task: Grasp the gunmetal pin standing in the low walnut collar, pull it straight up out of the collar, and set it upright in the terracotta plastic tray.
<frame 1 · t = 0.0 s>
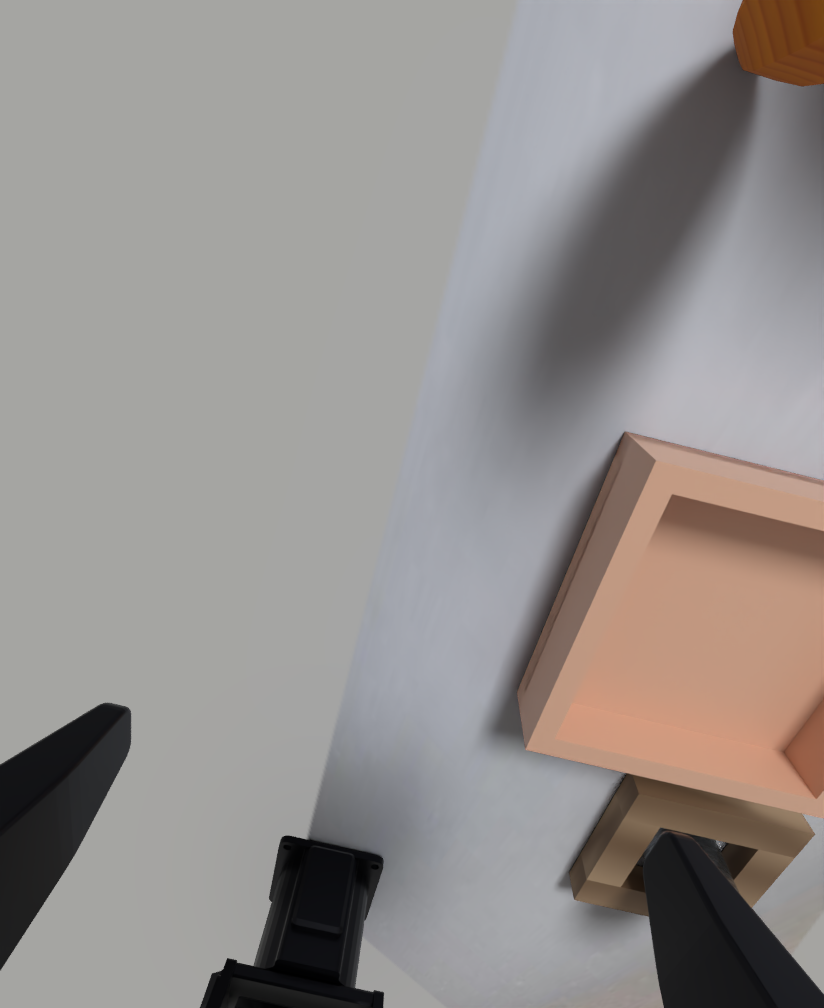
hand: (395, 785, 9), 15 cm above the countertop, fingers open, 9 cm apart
terracotta tray: (713, 613, 24), on the countertop
walnut collar: (676, 841, 30), on the countertop
gunmetal pin: (702, 909, 27), in the walnut collar
carrot: (745, 51, 16), on the countertop
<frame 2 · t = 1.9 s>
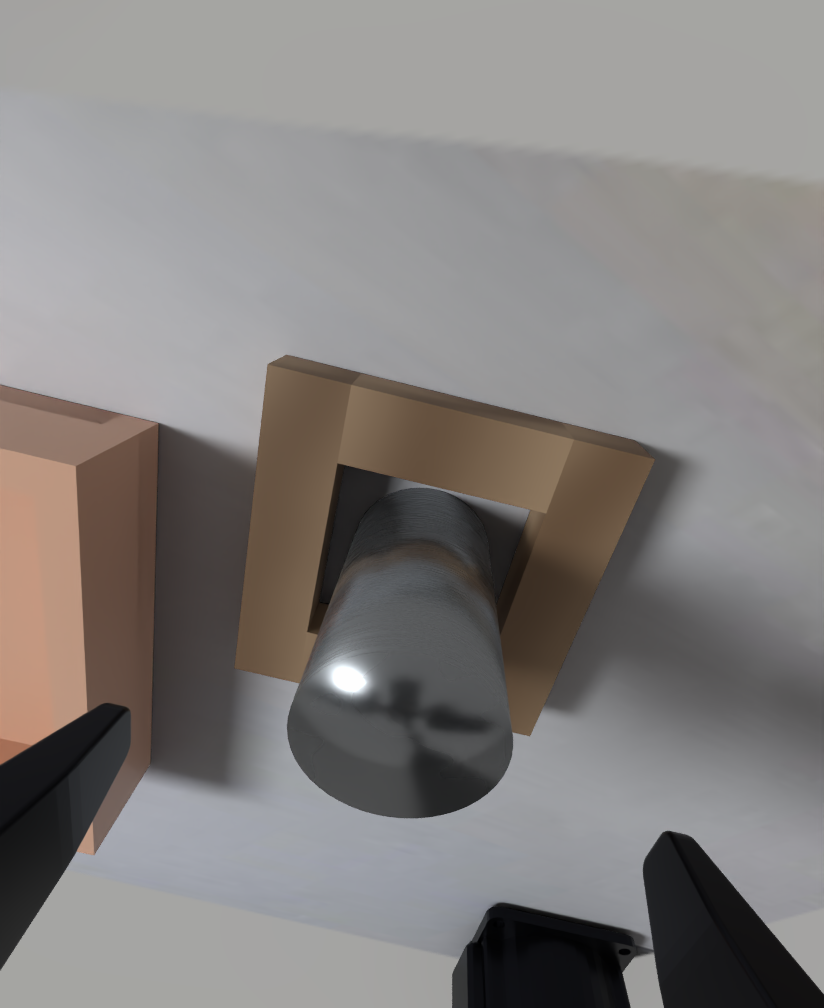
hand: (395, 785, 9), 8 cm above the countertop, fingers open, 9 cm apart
walnut collar: (421, 550, 16), on the countertop
gunmetal pin: (412, 621, 12), in the walnut collar
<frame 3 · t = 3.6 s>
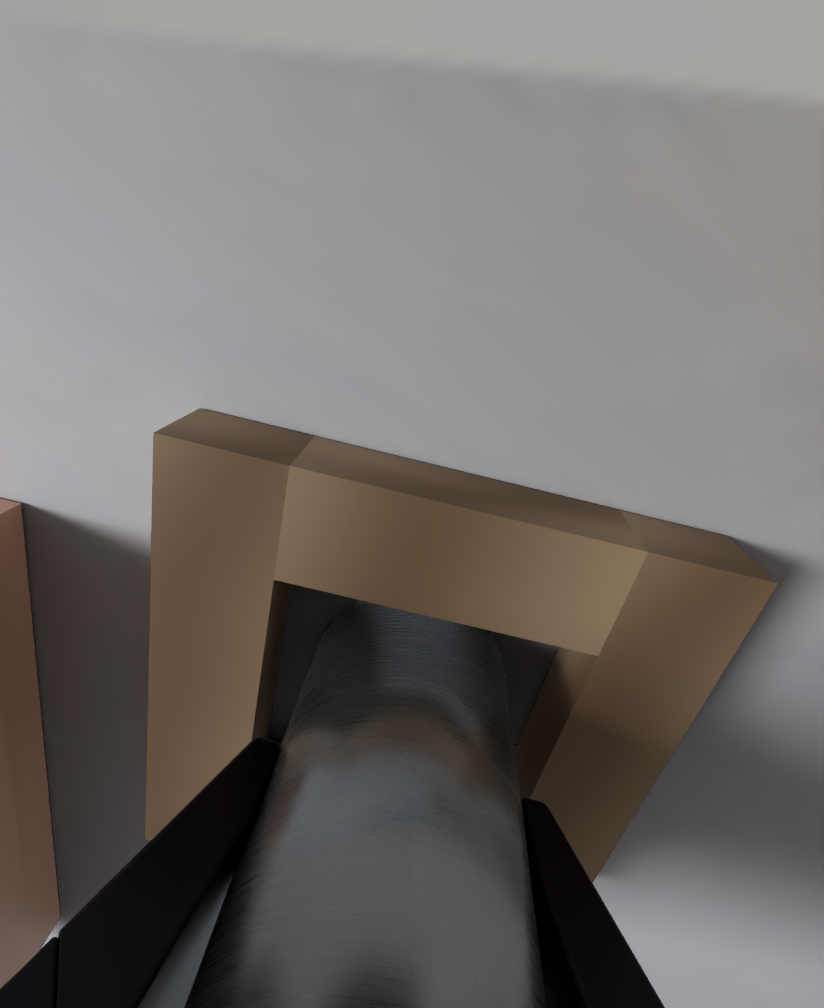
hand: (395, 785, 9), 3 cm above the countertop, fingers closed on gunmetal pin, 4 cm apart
walnut collar: (408, 677, 11), on the countertop
gunmetal pin: (389, 843, 8), in the walnut collar, touching gripper
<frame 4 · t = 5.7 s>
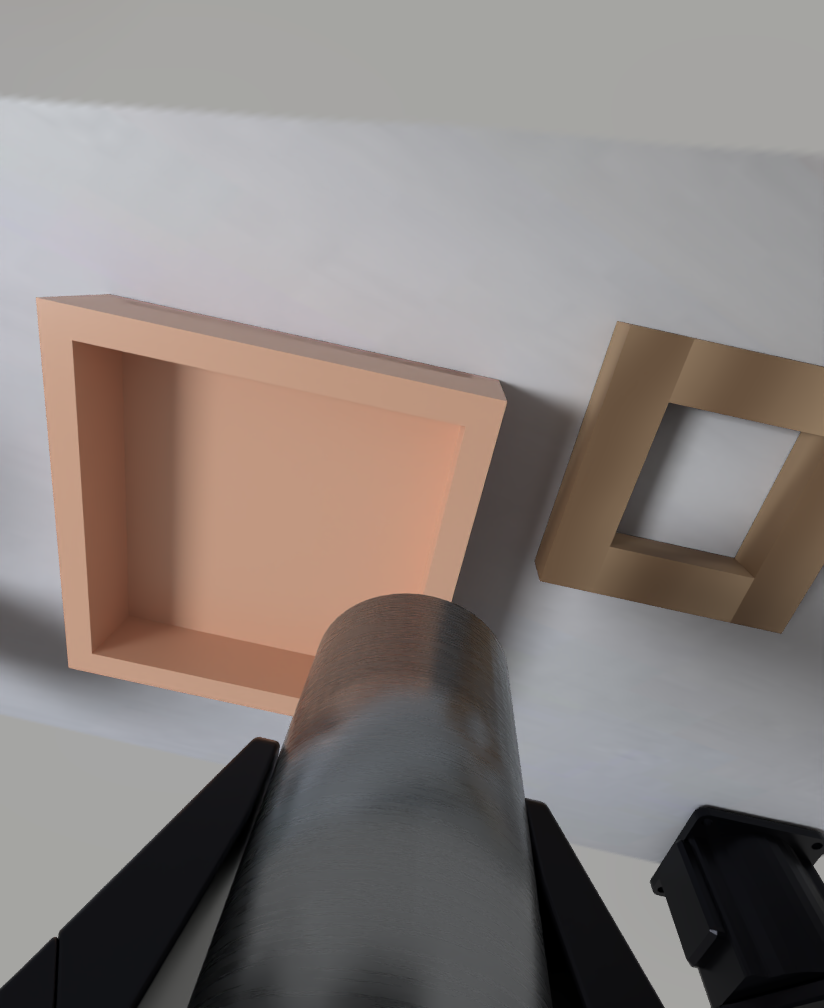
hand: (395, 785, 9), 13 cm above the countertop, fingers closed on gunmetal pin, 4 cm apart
terracotta tray: (284, 513, 21), on the countertop
walnut collar: (696, 480, 19), on the countertop
gunmetal pin: (392, 840, 8), point 14 cm above the countertop, touching gripper
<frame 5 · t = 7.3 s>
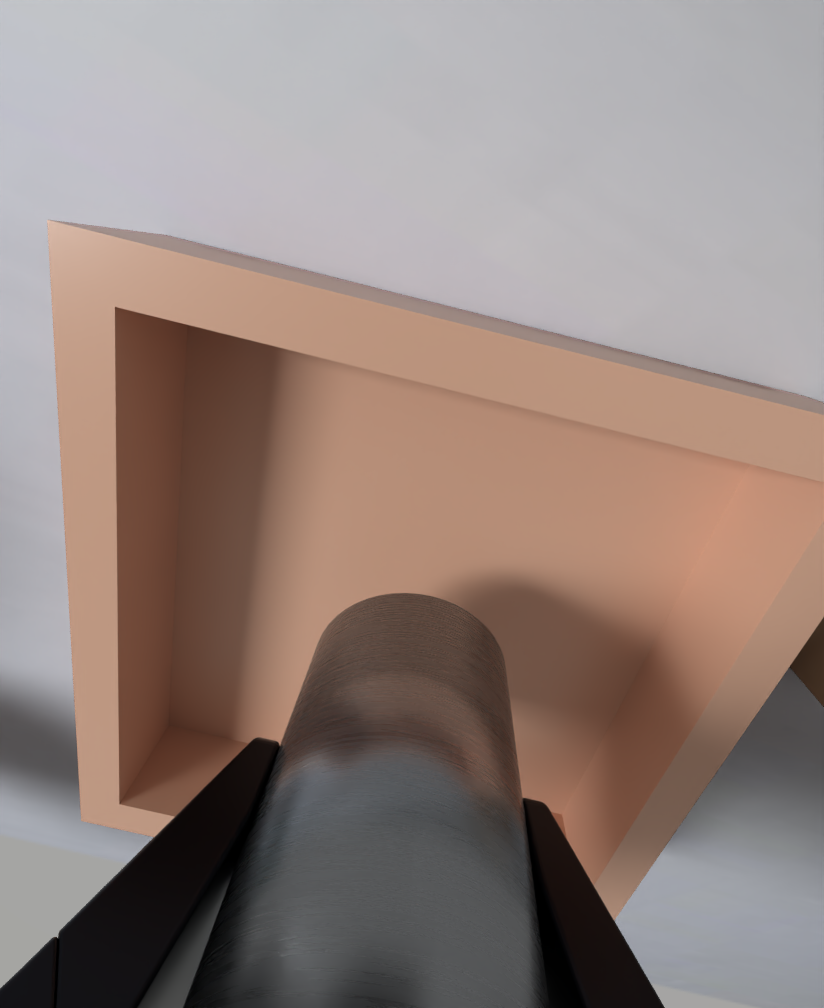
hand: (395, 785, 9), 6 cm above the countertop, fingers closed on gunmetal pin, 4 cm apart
terracotta tray: (415, 586, 14), on the countertop
gunmetal pin: (389, 841, 8), point 7 cm above the countertop, touching gripper
when the fingers open (5 cm above the countertop, at t = 8.2 s): gunmetal pin drops 1 cm, resting on terracotta tray.
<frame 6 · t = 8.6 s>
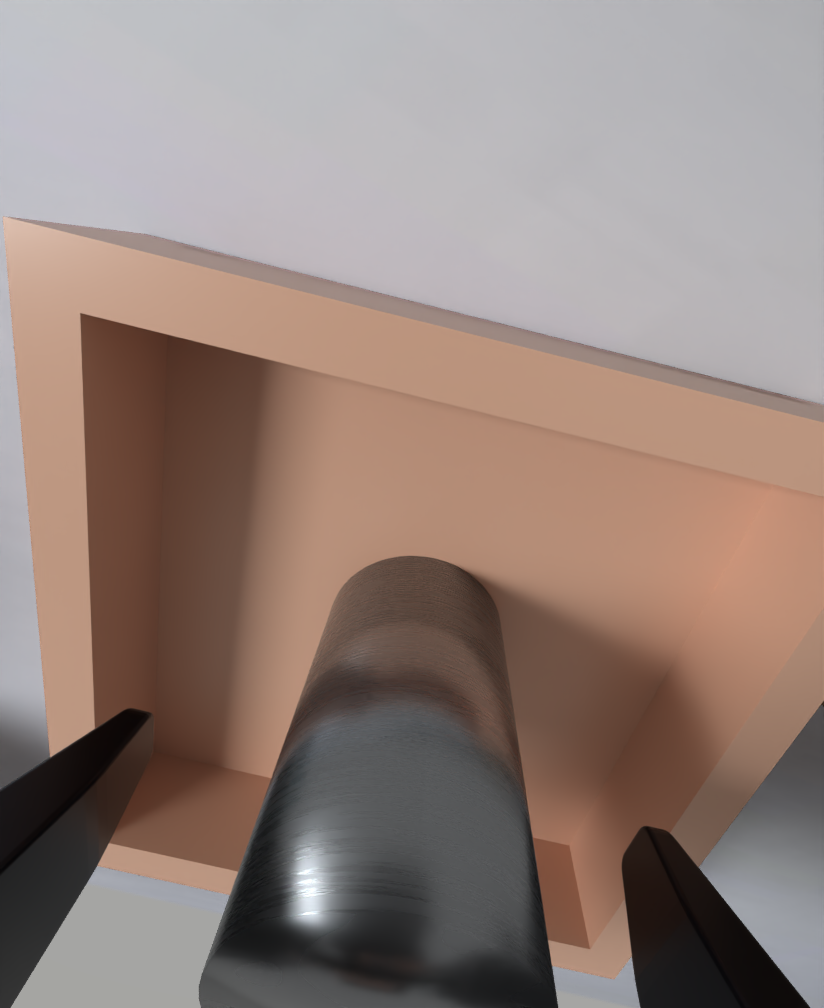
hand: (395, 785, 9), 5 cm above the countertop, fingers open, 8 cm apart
terracotta tray: (414, 607, 13), on the countertop
gunmetal pin: (402, 757, 9), in the terracotta tray, point 4 cm above the countertop
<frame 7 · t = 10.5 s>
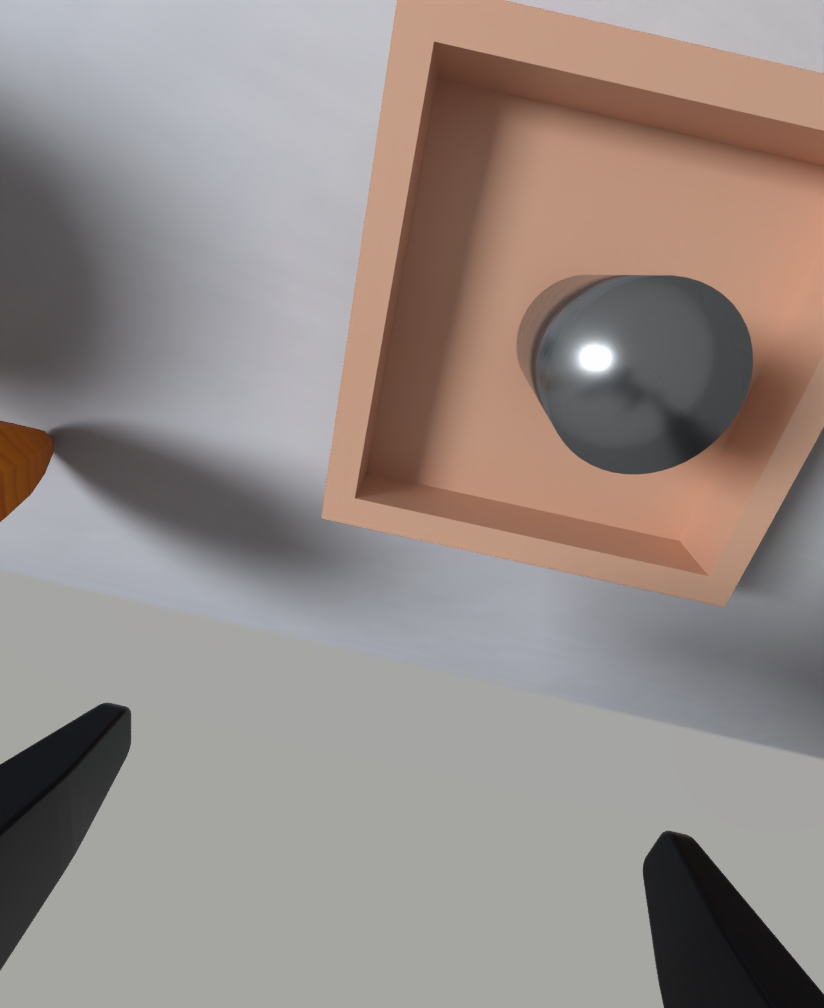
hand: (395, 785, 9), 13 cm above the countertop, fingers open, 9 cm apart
terracotta tray: (570, 340, 18), on the countertop
gunmetal pin: (604, 357, 14), in the terracotta tray, point 4 cm above the countertop
carrot: (51, 437, 21), on the countertop
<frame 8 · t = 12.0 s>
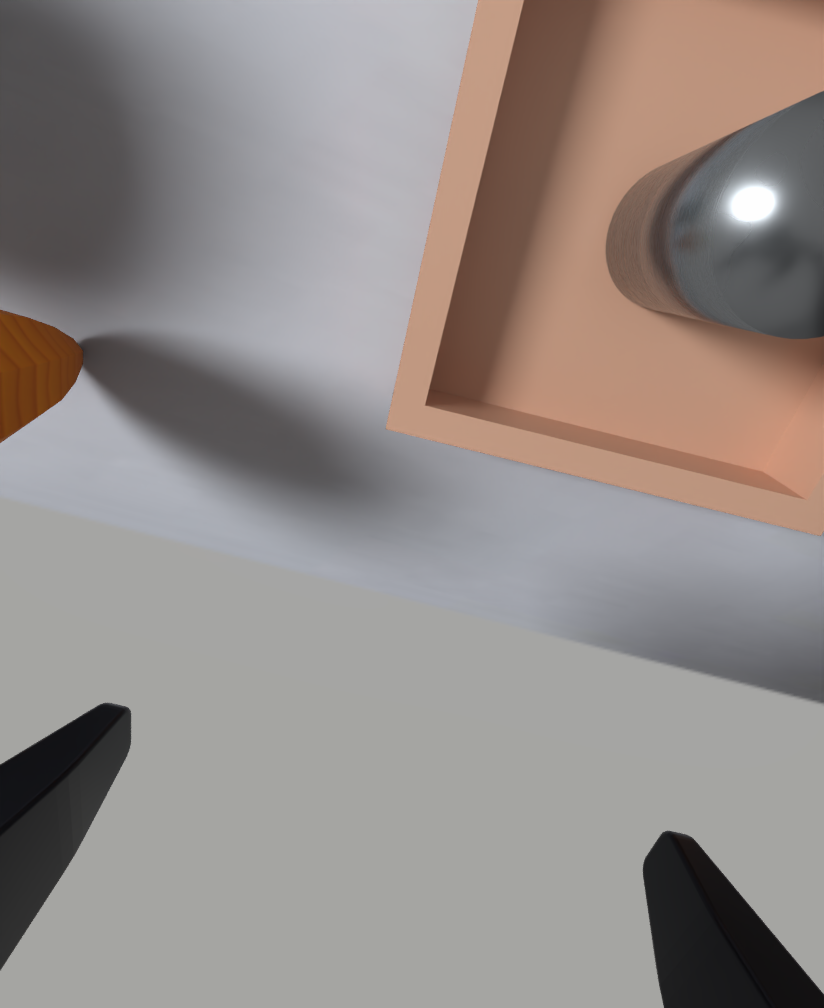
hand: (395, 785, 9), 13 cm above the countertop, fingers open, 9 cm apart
terracotta tray: (659, 243, 16), on the countertop
gunmetal pin: (733, 232, 12), in the terracotta tray, point 4 cm above the countertop
carrot: (79, 350, 20), on the countertop
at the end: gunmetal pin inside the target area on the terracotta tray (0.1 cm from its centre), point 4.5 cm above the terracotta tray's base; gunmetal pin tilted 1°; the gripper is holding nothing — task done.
